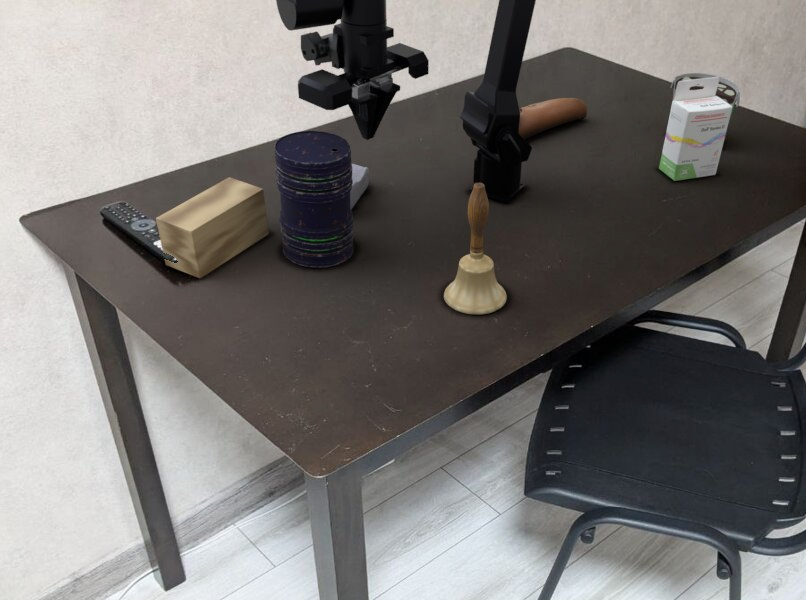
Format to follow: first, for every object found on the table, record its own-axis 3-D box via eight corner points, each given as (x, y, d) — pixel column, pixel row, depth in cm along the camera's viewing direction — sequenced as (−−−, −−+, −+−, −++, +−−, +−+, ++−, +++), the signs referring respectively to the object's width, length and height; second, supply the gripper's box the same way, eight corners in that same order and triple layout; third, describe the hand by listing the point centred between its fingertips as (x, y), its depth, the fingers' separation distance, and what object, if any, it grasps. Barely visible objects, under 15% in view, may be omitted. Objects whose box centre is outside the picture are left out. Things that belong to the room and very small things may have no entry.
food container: (739, 140, 162) (753, 84, 155) (726, 152, 158) (740, 95, 151) (675, 121, 167) (686, 66, 160) (661, 132, 163) (672, 76, 156)
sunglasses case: (552, 103, 168) (569, 78, 163) (574, 133, 168) (592, 109, 162) (481, 127, 158) (497, 101, 153) (504, 159, 158) (521, 134, 152)
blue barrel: (271, 261, 123) (261, 156, 113) (296, 226, 131) (289, 125, 121) (342, 273, 122) (338, 168, 113) (363, 238, 130) (361, 137, 120)
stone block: (288, 221, 135) (350, 219, 133) (279, 191, 132) (343, 188, 130) (316, 188, 144) (375, 185, 142) (308, 159, 141) (369, 155, 139)
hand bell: (433, 305, 118) (435, 192, 107) (458, 274, 124) (462, 164, 113) (493, 321, 116) (500, 208, 106) (515, 289, 122) (524, 178, 111)
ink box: (673, 182, 148) (692, 92, 138) (657, 169, 152) (674, 80, 142) (717, 175, 151) (738, 86, 141) (701, 162, 154) (720, 74, 145)
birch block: (269, 234, 129) (263, 188, 124) (200, 278, 120) (191, 231, 115) (236, 222, 131) (229, 176, 126) (165, 265, 122) (155, 217, 117)
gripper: (370, -12, 123) (373, 102, 133) (262, 18, 112) (275, 140, 122) (431, 8, 118) (430, 125, 128) (325, 42, 107) (333, 167, 117)
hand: (367, 138), depth 124 cm, fingers closed
